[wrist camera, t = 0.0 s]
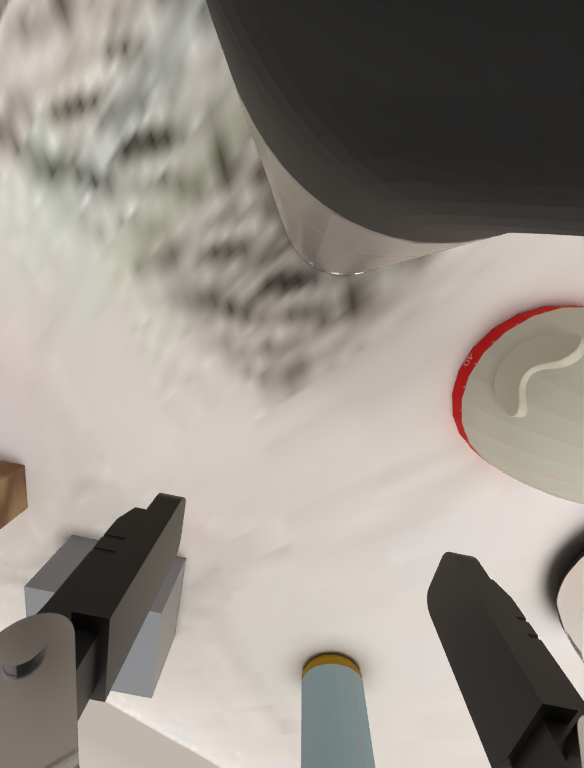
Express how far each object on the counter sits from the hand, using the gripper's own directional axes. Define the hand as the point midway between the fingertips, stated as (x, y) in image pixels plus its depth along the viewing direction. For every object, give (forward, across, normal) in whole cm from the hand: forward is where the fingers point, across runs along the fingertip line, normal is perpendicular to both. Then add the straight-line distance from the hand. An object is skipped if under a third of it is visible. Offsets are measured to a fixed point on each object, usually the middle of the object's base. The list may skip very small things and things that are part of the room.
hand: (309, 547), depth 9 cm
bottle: (+19, -11, +34) cm, 40 cm away
